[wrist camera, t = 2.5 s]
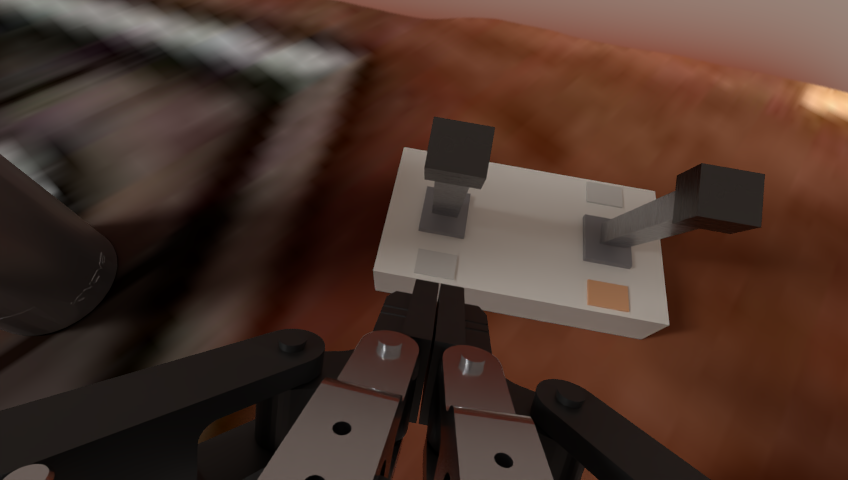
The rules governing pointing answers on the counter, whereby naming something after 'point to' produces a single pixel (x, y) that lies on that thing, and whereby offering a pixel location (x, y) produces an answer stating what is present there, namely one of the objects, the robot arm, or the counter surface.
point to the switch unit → (526, 249)
